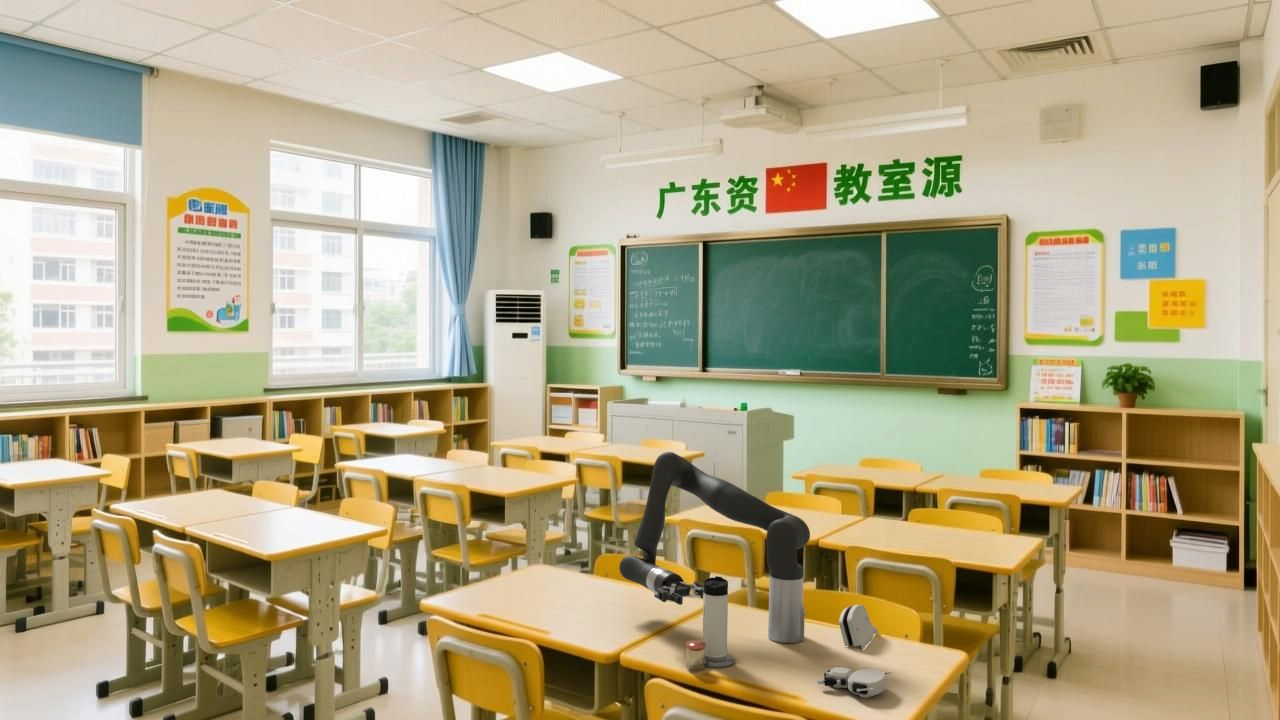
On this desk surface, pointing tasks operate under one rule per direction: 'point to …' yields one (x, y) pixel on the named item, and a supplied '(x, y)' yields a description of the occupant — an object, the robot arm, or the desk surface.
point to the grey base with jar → (703, 657)
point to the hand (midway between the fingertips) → (695, 598)
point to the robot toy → (856, 680)
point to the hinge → (856, 626)
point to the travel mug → (715, 618)
